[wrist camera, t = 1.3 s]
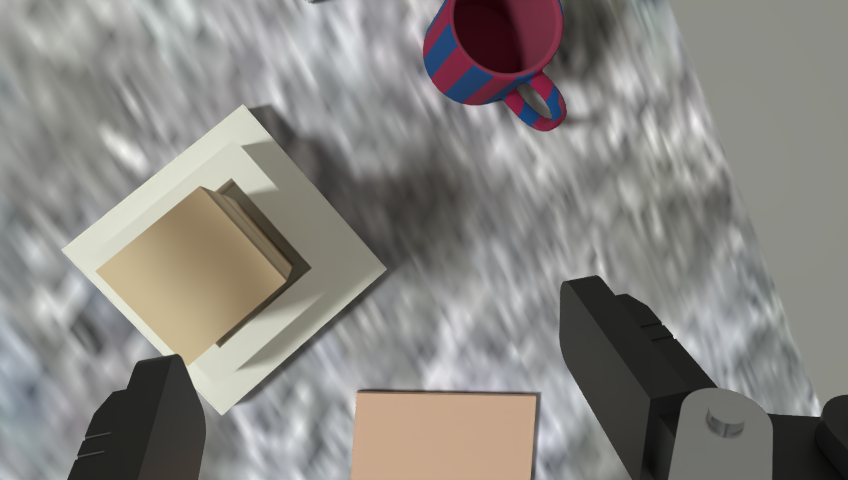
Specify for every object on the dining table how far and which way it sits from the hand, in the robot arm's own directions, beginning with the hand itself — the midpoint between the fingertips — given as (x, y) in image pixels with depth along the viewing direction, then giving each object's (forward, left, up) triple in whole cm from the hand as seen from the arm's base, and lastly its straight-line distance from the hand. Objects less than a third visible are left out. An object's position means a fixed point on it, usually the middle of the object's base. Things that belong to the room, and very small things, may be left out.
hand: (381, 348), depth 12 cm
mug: (+9, +13, -26) cm, 30 cm away
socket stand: (-6, 0, -25) cm, 26 cm away
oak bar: (-6, 0, -24) cm, 25 cm away
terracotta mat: (+8, -14, -25) cm, 30 cm away
